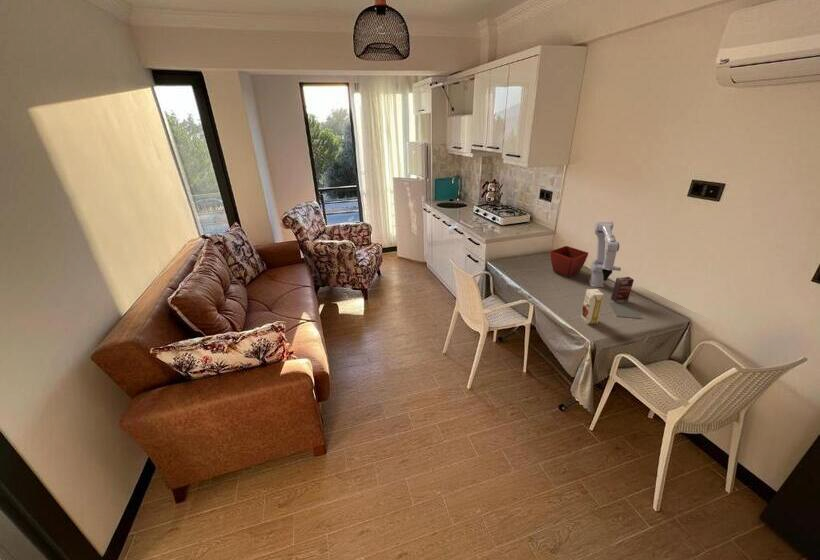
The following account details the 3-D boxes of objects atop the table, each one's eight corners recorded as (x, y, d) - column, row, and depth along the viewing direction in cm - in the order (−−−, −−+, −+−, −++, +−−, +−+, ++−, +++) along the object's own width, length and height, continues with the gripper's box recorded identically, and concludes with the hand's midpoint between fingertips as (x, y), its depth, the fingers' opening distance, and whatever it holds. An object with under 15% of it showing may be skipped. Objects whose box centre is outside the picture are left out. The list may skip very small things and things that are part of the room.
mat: (609, 303, 206) (609, 302, 206) (632, 305, 203) (632, 304, 202) (617, 316, 192) (617, 316, 192) (642, 318, 189) (642, 318, 189)
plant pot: (568, 280, 237) (572, 258, 230) (546, 271, 252) (549, 251, 245) (585, 273, 246) (589, 252, 238) (562, 265, 261) (566, 245, 253)
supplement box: (615, 303, 205) (621, 281, 198) (610, 300, 209) (615, 277, 202) (628, 302, 206) (634, 279, 199) (622, 298, 210) (628, 276, 203)
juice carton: (591, 316, 193) (598, 287, 185) (599, 324, 186) (606, 295, 177) (578, 317, 193) (584, 288, 185) (586, 325, 185) (593, 295, 177)
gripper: (597, 262, 205) (593, 281, 210) (624, 263, 201) (619, 283, 207) (595, 258, 211) (591, 277, 217) (620, 259, 207) (616, 279, 213)
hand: (604, 280), depth 212 cm, fingers closed
